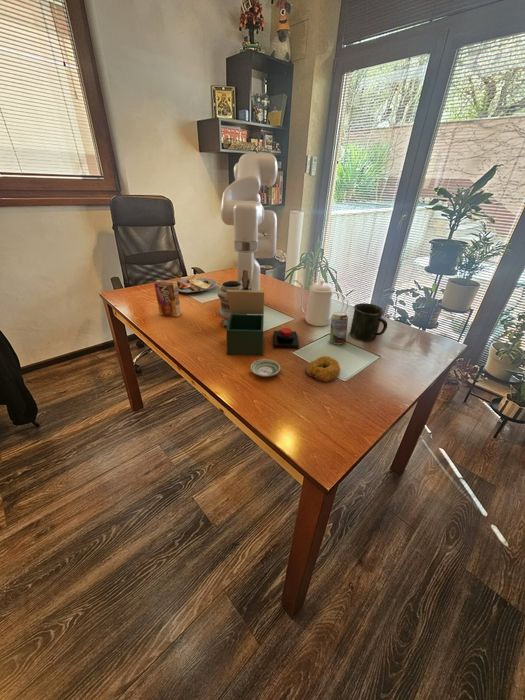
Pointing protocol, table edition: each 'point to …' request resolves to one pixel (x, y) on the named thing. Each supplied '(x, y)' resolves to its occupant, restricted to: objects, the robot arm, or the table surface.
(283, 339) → the switch block
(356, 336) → the mug
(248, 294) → the lid
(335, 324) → the beverage can
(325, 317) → the coffeepot
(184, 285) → the food plate
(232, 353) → the box
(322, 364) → the bagel
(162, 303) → the candy box
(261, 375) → the saucer
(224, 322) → the apothecary jar
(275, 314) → the table surface
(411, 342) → the table surface
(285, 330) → the button
